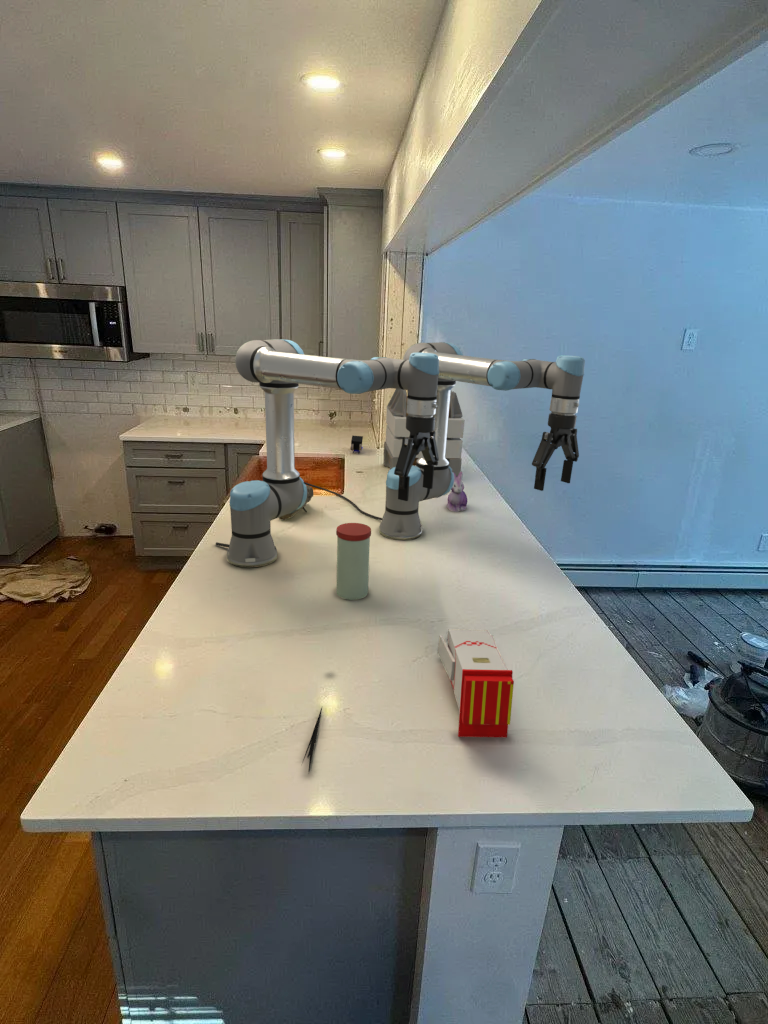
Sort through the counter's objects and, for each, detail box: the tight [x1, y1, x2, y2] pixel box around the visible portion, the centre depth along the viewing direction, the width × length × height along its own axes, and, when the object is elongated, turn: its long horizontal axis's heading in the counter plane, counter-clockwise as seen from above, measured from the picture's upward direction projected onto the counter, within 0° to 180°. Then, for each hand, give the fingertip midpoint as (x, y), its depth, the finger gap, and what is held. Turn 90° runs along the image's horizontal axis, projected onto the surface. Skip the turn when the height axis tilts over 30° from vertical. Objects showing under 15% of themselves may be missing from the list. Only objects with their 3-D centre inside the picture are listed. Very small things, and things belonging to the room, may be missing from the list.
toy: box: [437, 628, 515, 738], centre depth 117 cm, size 12×13×30 cm
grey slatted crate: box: [383, 389, 465, 476], centre depth 268 cm, size 34×33×41 cm
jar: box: [336, 535, 371, 601], centre depth 155 cm, size 9×9×18 cm
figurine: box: [446, 471, 468, 512], centre depth 225 cm, size 9×10×15 cm
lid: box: [335, 522, 372, 541], centre depth 151 cm, size 9×9×2 cm
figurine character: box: [350, 435, 364, 454], centre depth 309 cm, size 7×8×15 cm
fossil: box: [278, 485, 314, 521], centre depth 215 cm, size 22×10×15 cm
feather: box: [301, 673, 332, 771], centre depth 108 cm, size 2×28×2 cm
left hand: (415, 493), depth 153 cm, fingers open, 13 cm apart
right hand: (552, 485), depth 166 cm, fingers open, 13 cm apart
